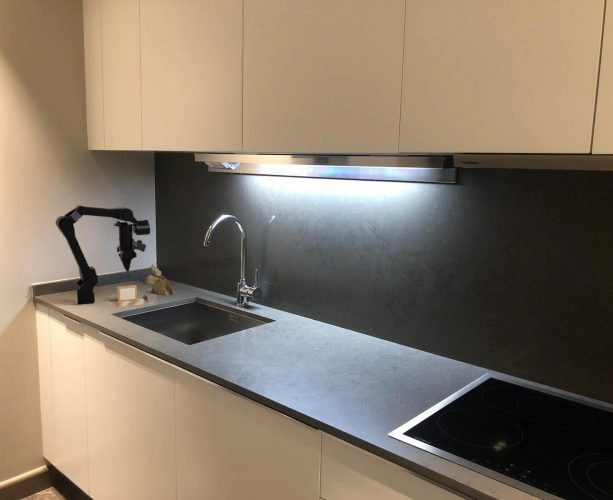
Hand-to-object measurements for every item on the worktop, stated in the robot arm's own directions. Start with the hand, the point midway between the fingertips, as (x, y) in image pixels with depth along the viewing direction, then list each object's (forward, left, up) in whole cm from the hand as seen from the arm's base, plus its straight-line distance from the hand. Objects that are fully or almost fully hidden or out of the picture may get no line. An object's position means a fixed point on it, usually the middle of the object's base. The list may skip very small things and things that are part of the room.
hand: (127, 270), depth 247 cm
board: (0, -10, -13) cm, 16 cm away
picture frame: (-1, -6, -12) cm, 14 cm away
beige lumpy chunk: (+16, +27, -13) cm, 34 cm away
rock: (+16, +2, -13) cm, 21 cm away
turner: (+7, -9, -12) cm, 17 cm away
